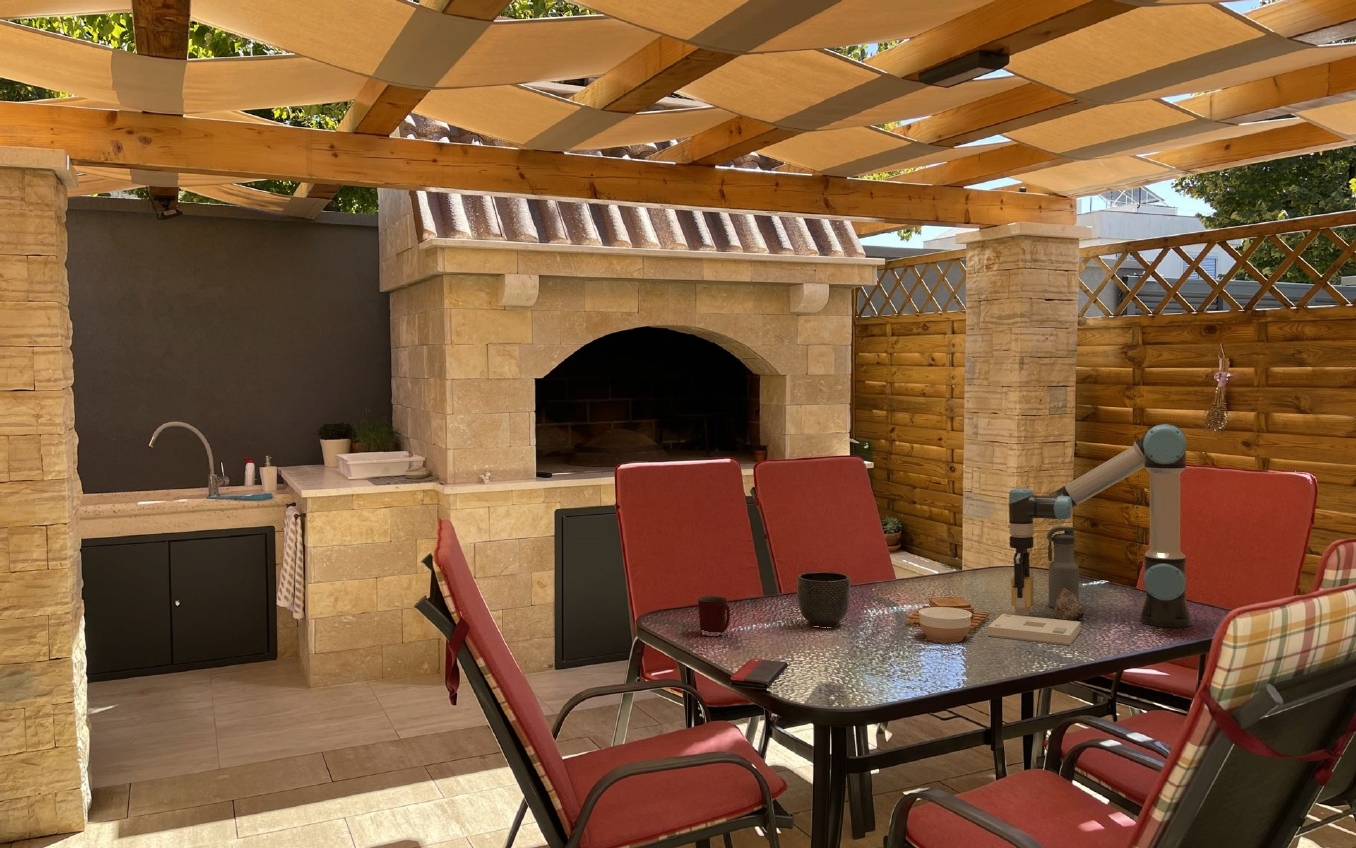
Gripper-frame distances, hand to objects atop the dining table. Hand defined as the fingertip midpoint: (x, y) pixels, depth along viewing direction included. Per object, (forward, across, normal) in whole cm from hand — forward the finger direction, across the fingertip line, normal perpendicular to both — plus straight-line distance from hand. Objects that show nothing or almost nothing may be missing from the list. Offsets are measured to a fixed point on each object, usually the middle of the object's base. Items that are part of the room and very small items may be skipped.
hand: (1022, 605), depth 338 cm
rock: (+5, -6, +12) cm, 15 cm away
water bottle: (+5, -25, +8) cm, 27 cm away
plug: (+3, 0, 0) cm, 3 cm away
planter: (+4, +39, -54) cm, 67 cm away
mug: (+3, +67, -79) cm, 104 cm away
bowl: (+4, +37, -16) cm, 40 cm away
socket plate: (+5, +19, +7) cm, 21 cm away
